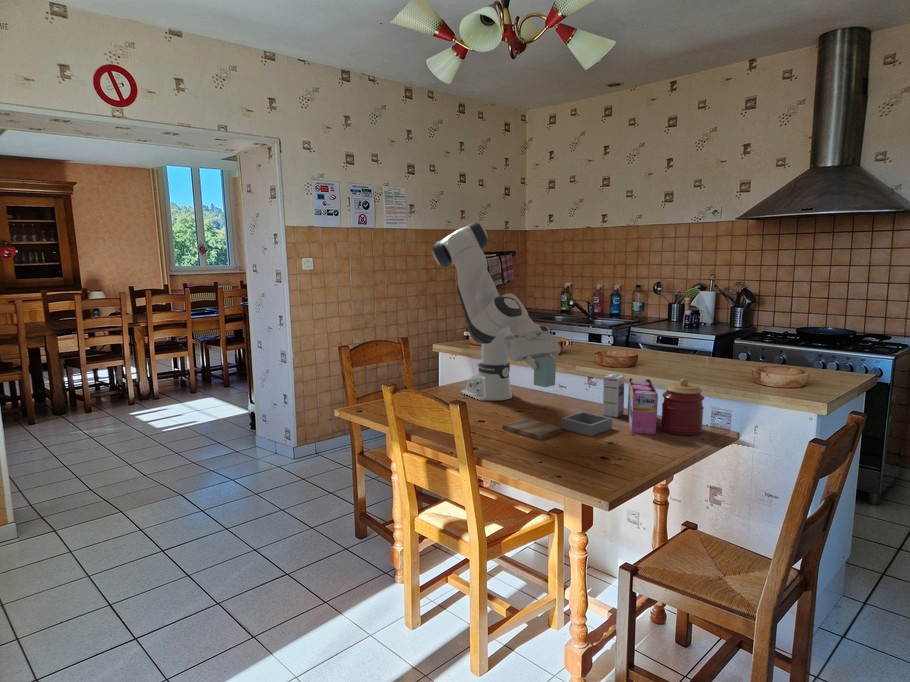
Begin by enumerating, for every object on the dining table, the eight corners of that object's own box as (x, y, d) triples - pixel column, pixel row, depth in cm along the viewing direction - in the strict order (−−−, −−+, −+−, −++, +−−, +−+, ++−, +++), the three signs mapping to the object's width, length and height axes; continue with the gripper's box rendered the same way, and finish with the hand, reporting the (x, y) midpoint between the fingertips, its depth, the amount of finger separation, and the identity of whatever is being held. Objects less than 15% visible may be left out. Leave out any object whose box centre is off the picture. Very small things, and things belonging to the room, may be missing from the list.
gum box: (626, 413, 214) (628, 377, 212) (649, 414, 213) (650, 378, 210) (631, 433, 191) (633, 393, 189) (656, 434, 190) (658, 394, 187)
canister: (674, 422, 203) (677, 372, 200) (710, 431, 192) (713, 379, 190) (652, 429, 195) (655, 377, 192) (688, 439, 185) (691, 384, 182)
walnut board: (502, 429, 196) (502, 424, 196) (525, 421, 204) (525, 417, 204) (539, 440, 185) (539, 435, 184) (562, 432, 193) (562, 427, 192)
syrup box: (617, 417, 209) (619, 378, 206) (602, 415, 212) (603, 376, 210) (623, 414, 213) (625, 375, 211) (608, 411, 217) (609, 373, 214)
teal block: (533, 384, 193) (534, 358, 191) (542, 382, 196) (543, 356, 195) (545, 387, 189) (546, 360, 188) (555, 385, 192) (556, 358, 191)
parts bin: (561, 428, 197) (561, 418, 196) (581, 421, 205) (582, 411, 204) (591, 436, 188) (591, 425, 187) (611, 428, 196) (612, 418, 195)
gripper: (506, 331, 190) (525, 365, 184) (552, 326, 201) (571, 359, 195) (497, 342, 195) (515, 376, 188) (543, 338, 206) (561, 369, 199)
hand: (544, 367), depth 192 cm, fingers closed on teal block, 5 cm apart
